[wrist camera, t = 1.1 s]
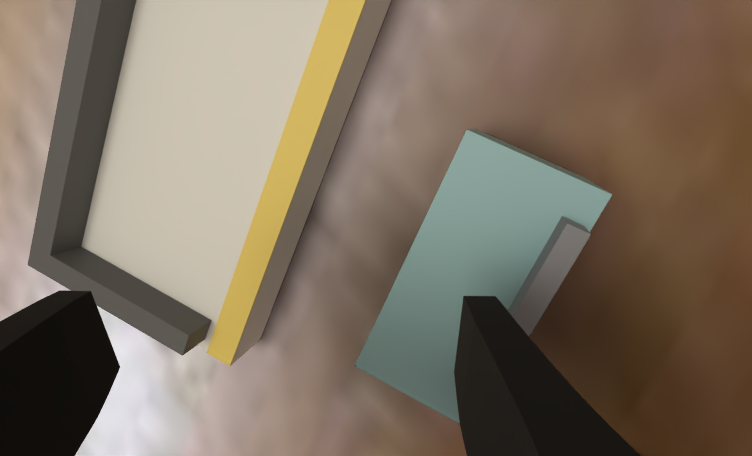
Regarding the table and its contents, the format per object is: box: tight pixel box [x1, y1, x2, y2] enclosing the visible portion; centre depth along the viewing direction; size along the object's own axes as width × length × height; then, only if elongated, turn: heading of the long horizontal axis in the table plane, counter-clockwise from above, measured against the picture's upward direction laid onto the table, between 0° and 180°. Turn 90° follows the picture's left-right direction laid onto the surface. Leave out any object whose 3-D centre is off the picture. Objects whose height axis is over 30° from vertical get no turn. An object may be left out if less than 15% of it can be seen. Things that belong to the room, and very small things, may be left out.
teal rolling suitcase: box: [355, 129, 612, 424], centre depth 15 cm, size 4×8×7 cm, turn 156°
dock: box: [28, 0, 391, 366], centre depth 18 cm, size 10×18×4 cm, turn 156°
